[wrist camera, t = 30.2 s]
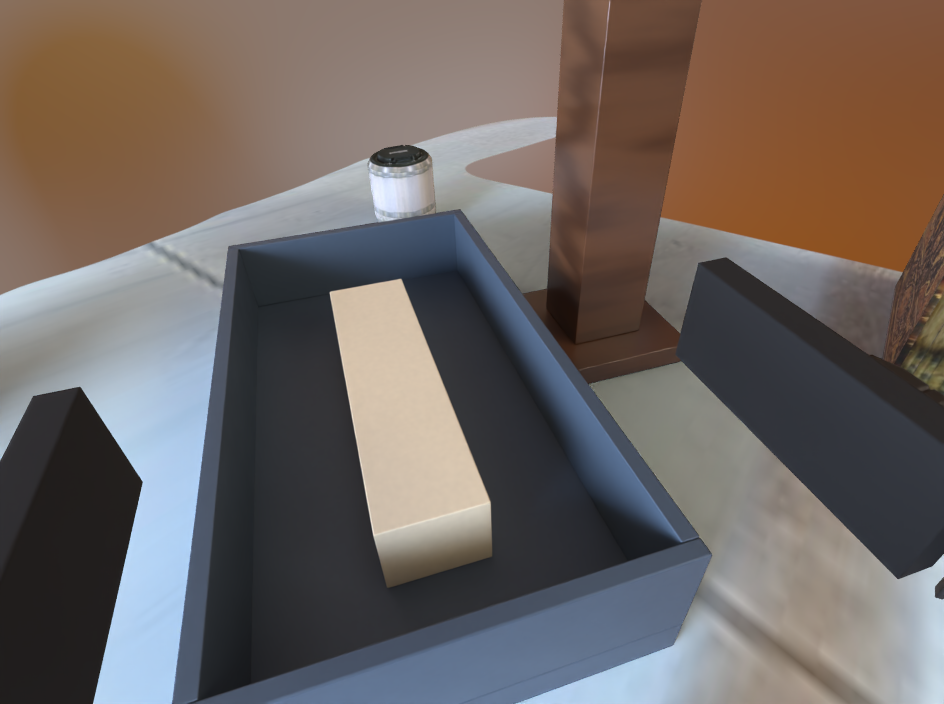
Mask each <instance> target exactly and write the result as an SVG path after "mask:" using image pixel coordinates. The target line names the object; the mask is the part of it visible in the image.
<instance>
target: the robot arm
mask: <svg viewBox="0 0 944 704" xmlns="http://www.w3.org/2000/svg"><path fill="white" fill-rule="evenodd" d="M675 355H676V356H677V357H678V358H679V359H680V360H681V361H682V362H683V363H684V364H685V365H686V366H687V367H688V368H689V369H690V370H691V371H692V372H693V373H694V374H695V375H696V376H697V377H698V378H699V379H700V380H701V381H702V382H703V383H704V384H705V385H706V386H707V387H708V388H709V389H710V390H711V391H712V392H713V393H714V394H715V395H716V396H717V397H718V398H719V399H720V400H721V401H722V402H723V403H724V404H725V405H726V406H727V407H728V408H729V409H730V410H731V411H732V412H733V413H734V414H735V415H736V416H737V417H738V418H739V419H740V420H741V421H742V422H743V423H744V424H745V425H746V426H747V427H748V428H749V430H750V431H751V432H752V433H753V434H754V435H755V436H756V437H757V438H758V439H759V440H760V441H761V442H762V443H763V444H764V445H765V446H766V447H767V448H768V449H769V450H770V451H771V452H772V453H773V454H774V455H775V456H776V457H777V458H778V459H779V460H780V461H781V462H782V463H783V464H784V465H785V466H786V467H787V468H788V469H789V470H790V471H791V472H792V473H793V474H794V475H795V476H796V477H797V478H798V479H799V480H800V481H801V482H802V483H803V484H804V485H805V486H806V487H807V488H808V489H809V490H810V491H811V492H812V493H813V494H814V495H815V496H816V497H817V498H818V499H819V500H820V501H821V502H822V503H823V504H824V505H825V506H826V507H827V508H828V509H829V510H830V511H831V512H832V513H833V514H834V515H835V516H836V517H837V518H838V519H839V520H840V521H841V522H842V523H843V524H844V525H845V526H846V527H847V528H848V529H849V530H850V531H851V532H852V533H853V534H854V535H855V536H856V537H857V538H858V539H859V540H860V541H861V542H862V543H863V544H864V545H865V546H866V547H867V548H868V549H869V550H870V551H871V552H872V553H873V554H874V555H875V557H876V558H877V559H878V560H879V561H880V562H881V563H882V564H883V565H884V566H885V567H886V568H887V569H888V570H889V571H890V572H891V573H892V574H893V575H894V576H895V577H896V578H897V579H900V578H903V577H905V576H908V575H911V574H913V573H916V572H918V571H921V570H924V569H926V568H929V567H932V566H933V565H934V564H935V563H936V562H937V561H938V559H939V558H940V557H941V556H942V555H943V554H944V395H942V394H941V393H939V392H938V391H936V390H935V389H933V390H931V389H930V388H929V385H928V384H926V383H925V382H923V381H922V380H920V379H919V378H917V377H916V376H914V375H913V374H911V373H910V372H908V371H907V370H905V369H904V368H902V367H899V366H897V365H895V364H892V363H890V362H888V361H885V360H883V359H881V358H878V357H876V356H874V355H868V354H866V353H865V352H863V351H862V350H861V349H859V348H858V347H856V346H855V345H853V344H852V343H850V342H849V341H847V340H846V339H845V338H843V337H842V336H840V335H839V334H837V333H836V332H834V331H833V330H831V329H830V328H829V327H827V326H826V325H824V324H823V323H821V322H820V321H818V320H817V319H815V318H814V317H812V316H811V315H810V314H808V313H807V312H805V311H804V310H802V309H801V308H799V307H798V306H796V305H795V304H794V303H792V302H791V301H789V300H788V299H786V298H785V297H783V296H782V295H780V294H779V293H777V292H776V291H775V290H773V289H772V288H770V287H769V286H767V285H766V284H764V283H763V282H761V281H760V280H759V279H757V278H756V277H754V276H753V275H751V274H750V273H748V272H747V271H745V270H744V269H743V268H741V267H740V266H738V265H737V264H735V263H734V262H732V261H731V260H729V259H728V258H721V259H716V260H711V261H706V262H701V263H698V267H697V271H696V275H695V279H694V283H693V287H692V291H691V295H690V299H689V302H688V306H687V310H686V314H685V318H684V322H683V326H682V330H681V334H680V338H679V341H678V345H677V349H676V353H675ZM142 483H143V482H142V480H141V479H140V477H139V476H138V474H137V473H136V471H135V470H134V468H133V466H132V465H131V463H130V462H129V460H128V459H127V457H126V456H125V454H124V453H123V451H122V450H121V448H120V447H119V445H118V444H117V442H116V441H115V439H114V437H113V436H112V434H111V433H110V431H109V430H108V428H107V427H106V425H105V424H104V422H103V421H102V419H101V418H100V416H99V415H98V413H97V412H96V410H95V409H94V407H93V405H92V404H91V402H90V401H89V399H88V398H87V396H86V395H85V393H84V392H83V390H82V389H81V387H77V388H72V389H67V390H62V391H57V392H52V393H47V394H42V395H37V396H33V398H32V400H31V402H30V404H29V406H28V407H27V409H26V411H25V413H24V415H23V417H22V419H21V421H20V423H19V425H18V427H17V429H16V431H15V433H14V435H13V437H12V439H11V441H10V443H9V445H8V447H7V449H6V451H5V453H4V455H3V457H2V459H1V461H0V704H93V701H94V697H95V692H96V688H97V683H98V679H99V674H100V670H101V665H102V661H103V657H104V652H105V648H106V643H107V639H108V634H109V630H110V625H111V621H112V616H113V612H114V608H115V603H116V599H117V594H118V590H119V585H120V581H121V576H122V572H123V567H124V563H125V559H126V554H127V550H128V545H129V541H130V536H131V532H132V527H133V523H134V518H135V514H136V510H137V505H138V501H139V496H140V492H141V487H142ZM935 597H936V598H939V599H944V577H943V578H942V580H941V581H940V582H939V583H938V584H937V585H936V586H935Z"/></svg>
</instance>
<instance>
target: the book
mask: <svg viewBox="0 0 944 704" xmlns="http://www.w3.org/2000/svg"><path fill="white" fill-rule="evenodd" d="M883 360H885V361H888V362H890V363H892V364H895V365H897V366H899V367H902V368H904V369H905V370H907V371H908V372H910V373H911V374H913V375H914V376H916V377H917V378H919V379H920V380H922V381H923V382H925V383H926V384H928V385H929V388H930V389H931V390H933V389H935V390H936V391H938V392H939V393H941V394H942V395H944V195H943V197H942V199H941V200H940V202H939V204H938V206H937V208H936V210H935V212H934V214H933V216H932V218H931V220H930V222H929V223H928V225H927V227H926V229H925V231H924V233H923V235H922V237H921V239H920V241H919V243H918V245H917V246H916V249H915V250H914V252H913V254H912V256H911V258H910V260H909V262H908V264H907V266H906V268H905V269H904V271H903V273H902V275H901V277H900V279H899V281H898V283H897V285H896V287H895V292H894V298H893V303H892V309H891V315H890V321H889V326H888V332H887V338H886V344H885V350H884V355H883Z"/></svg>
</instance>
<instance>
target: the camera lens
mask: <svg viewBox="0 0 944 704" xmlns="http://www.w3.org/2000/svg"><path fill="white" fill-rule="evenodd" d="M368 170H369V177H370V183H371V189H372V196H373V202H374V207H375V214H376V217H377V220H378V222H384V221H390V220H396V219H402V218H409V217H415V216H421V215H428V214H434V213H436V203H435V192H434V180H433V168H432V158H431V156H430V155H429V154H428V153H427V152H426V151H425V150H423V149H420V148H417V147H415V146H410V145H405V146H403V145H400V146H394V147H388V148H384V149H382V150H380V151H378V152H376V153H374V154H373V155H372V156H371V157H370V159H369V161H368Z"/></svg>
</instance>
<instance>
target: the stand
mask: <svg viewBox="0 0 944 704" xmlns="http://www.w3.org/2000/svg"><path fill="white" fill-rule="evenodd" d="M701 2H702V0H564V8H563V25H562V42H561V59H560V77H559V94H558V95H559V96H558V111H557V129H556V147H555V164H554V181H553V198H552V215H551V232H550V250H549V267H548V284H547V289H544V290H539V291H533V292H528V293H523V296H524V297H525V298H526V300H527V301H528V302H529V304H530V305H531V307H532V308H533V309H534V311H535V312H536V313H537V315H538V316H539V317H540V319H541V320H542V322H543V323H544V324H545V326H546V327H547V328H548V330H549V331H550V333H551V334H552V335H553V337H554V338H555V339H556V341H557V342H558V343H559V345H560V346H561V348H562V349H563V350H564V352H565V353H566V354H567V356H568V357H569V359H570V360H571V361H572V363H573V364H574V365H575V367H576V368H577V369H578V371H579V372H580V374H581V375H582V376H583V378H584V379H585V380H586V382H587V383H588V384H589V383H593V382H598V381H602V380H606V379H610V378H614V377H618V376H622V375H626V374H630V373H635V372H639V371H643V370H647V369H651V368H655V367H659V366H663V365H667V364H672V363H676V362H680V361H681V360H680V359H679V358H678V357H677V356H676V355H675V353H676V349H677V345H678V341H679V338H680V333H679V332H678V331H677V330H676V329H675V328H674V327H673V326H672V325H671V324H669V323H668V322H667V321H666V320H665V319H664V318H663V317H662V316H661V315H660V314H659V313H658V312H657V311H656V310H655V309H654V308H653V307H651V306H650V305H649V304H648V303H647V302H646V301H645V294H646V289H647V284H648V279H649V274H650V268H651V263H652V258H653V253H654V247H655V242H656V237H657V232H658V226H659V221H660V216H661V211H662V205H663V200H664V195H665V190H666V185H667V179H668V174H669V168H670V163H671V158H672V153H673V148H674V143H675V137H676V132H677V127H678V122H679V116H680V111H681V106H682V101H683V96H684V90H685V85H686V80H687V75H688V70H689V64H690V59H691V54H692V49H693V43H694V38H695V32H696V28H697V22H698V17H699V12H700V7H701Z"/></svg>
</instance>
